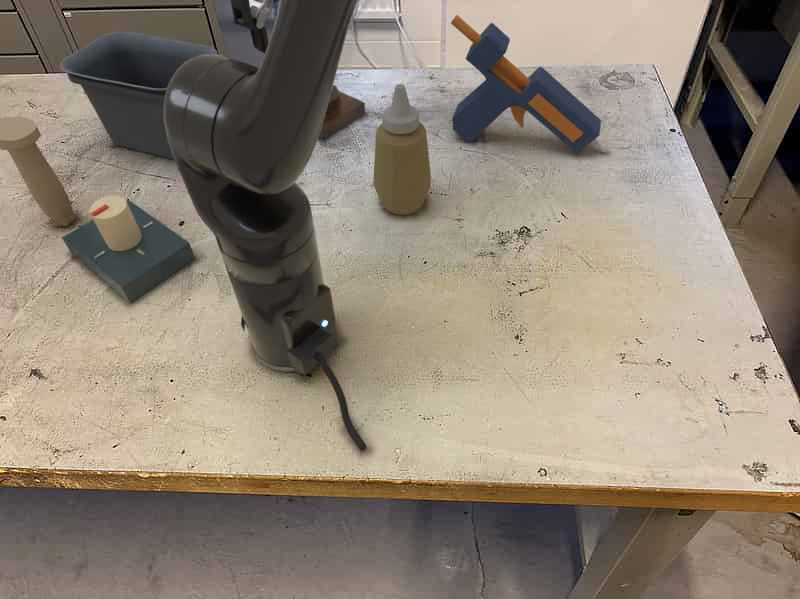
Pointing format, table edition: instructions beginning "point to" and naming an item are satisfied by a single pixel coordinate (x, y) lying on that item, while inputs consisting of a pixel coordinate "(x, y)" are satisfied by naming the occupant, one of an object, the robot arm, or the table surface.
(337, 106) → the button block
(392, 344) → the table surface
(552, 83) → the glue gun
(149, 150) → the storage bin
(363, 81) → the table surface
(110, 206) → the dial
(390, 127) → the squeeze bottle
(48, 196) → the handle
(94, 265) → the dial panel
